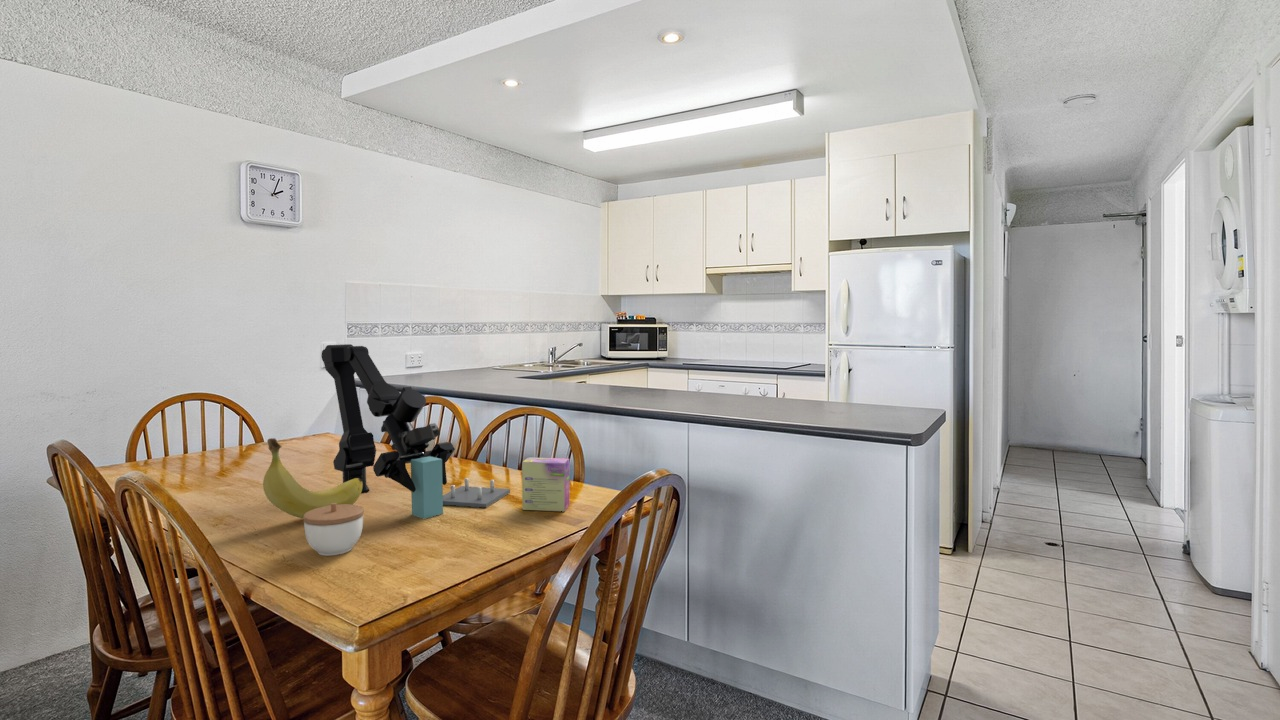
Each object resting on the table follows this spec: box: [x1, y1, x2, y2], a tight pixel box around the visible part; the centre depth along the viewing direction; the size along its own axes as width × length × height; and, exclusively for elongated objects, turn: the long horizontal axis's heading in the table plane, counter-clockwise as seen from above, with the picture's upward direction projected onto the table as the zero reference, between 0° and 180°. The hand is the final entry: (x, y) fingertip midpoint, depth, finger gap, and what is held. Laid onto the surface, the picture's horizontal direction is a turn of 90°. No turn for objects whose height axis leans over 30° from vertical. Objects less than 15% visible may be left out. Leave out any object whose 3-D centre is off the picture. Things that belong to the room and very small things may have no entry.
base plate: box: [443, 477, 511, 508], centre depth 165 cm, size 14×14×4 cm
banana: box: [262, 437, 363, 519], centre depth 148 cm, size 23×6×20 cm, turn 146°
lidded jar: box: [302, 503, 365, 557], centre depth 128 cm, size 11×11×9 cm
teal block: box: [410, 456, 444, 520], centre depth 152 cm, size 5×5×13 cm
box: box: [521, 456, 571, 513], centre depth 157 cm, size 10×6×12 cm, turn 84°
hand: (430, 487), depth 151 cm, fingers open, 8 cm apart
